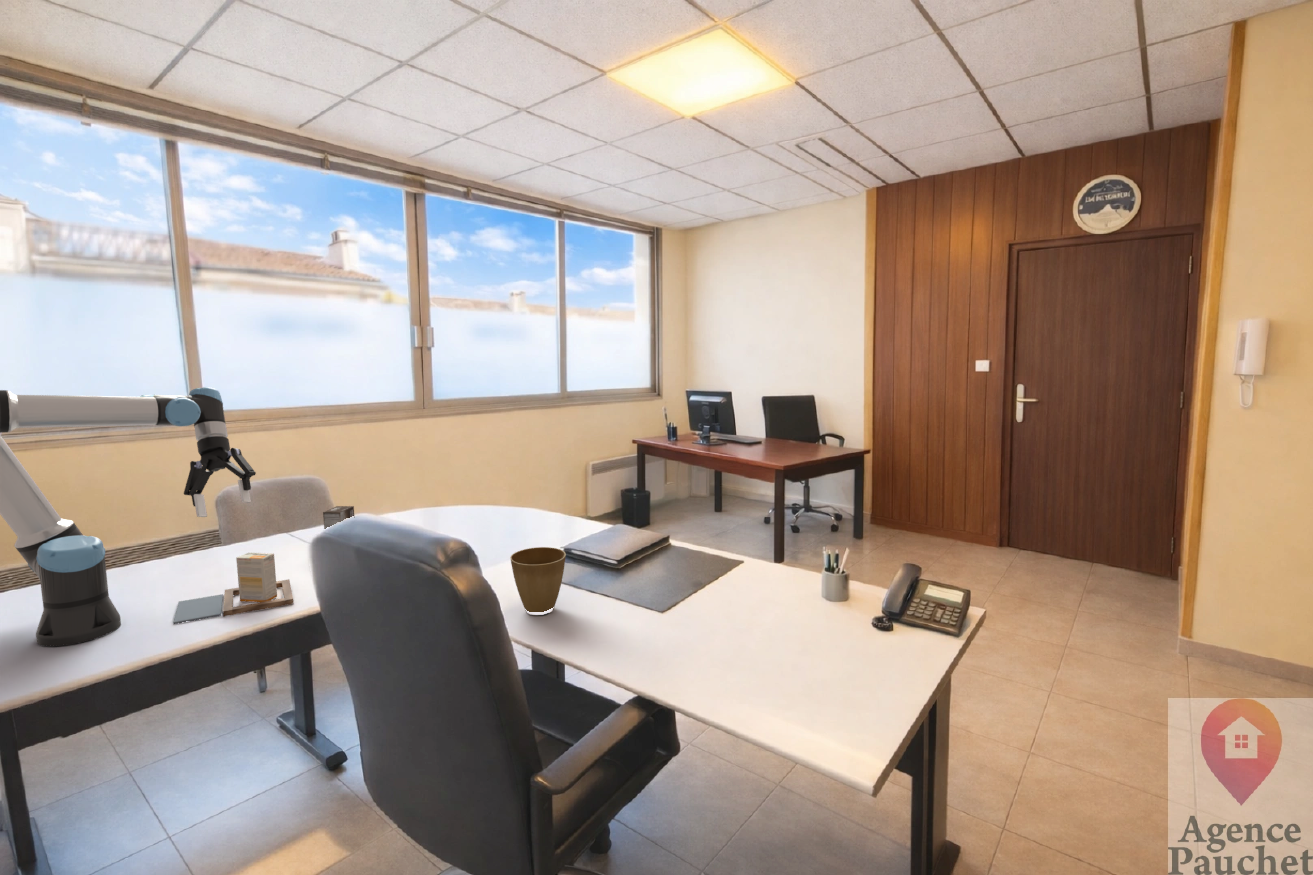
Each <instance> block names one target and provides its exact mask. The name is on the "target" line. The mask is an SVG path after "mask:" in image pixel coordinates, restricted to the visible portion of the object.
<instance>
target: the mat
mask: <svg viewBox="0 0 1313 875" xmlns="http://www.w3.org/2000/svg"><path fill="white" fill-rule="evenodd" d="M223 603H224V594H223V593H222V594H216V595H210V596H204V597H198V598H192V599H191V598H190V599H186V600H180V601H178V602H177V606H176V611H175V614H174V618H173V621H172V625H177V624H178V623H179V624H183V623H182V622H184V623H187V622H186V621H190V622H195V621H200V620H199V619H201V620H204V619H205V620H207V619H212V618H217V617H221V616H222V614H223ZM194 620H195V621H194Z"/></svg>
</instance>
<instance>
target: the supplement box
mask: <svg viewBox="0 0 1313 875" xmlns="http://www.w3.org/2000/svg"><path fill="white" fill-rule="evenodd" d="M235 560H236V568H237V571H236V572H237V582H238V583H237V584H238V588H239V595H238V596H239V602H240V601H241V602H242V603H243V602H246V603H247V602H249V603H250V602H251V603H259V602H264V601H270V600H275V599H276V598H278V588H277V585H276V581H277V576H276V575H277V574H276V562H275V553H269V552H268V553H266V552H246V553H244V554H241V555H239V556H237V557H236V558H235Z"/></svg>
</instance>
